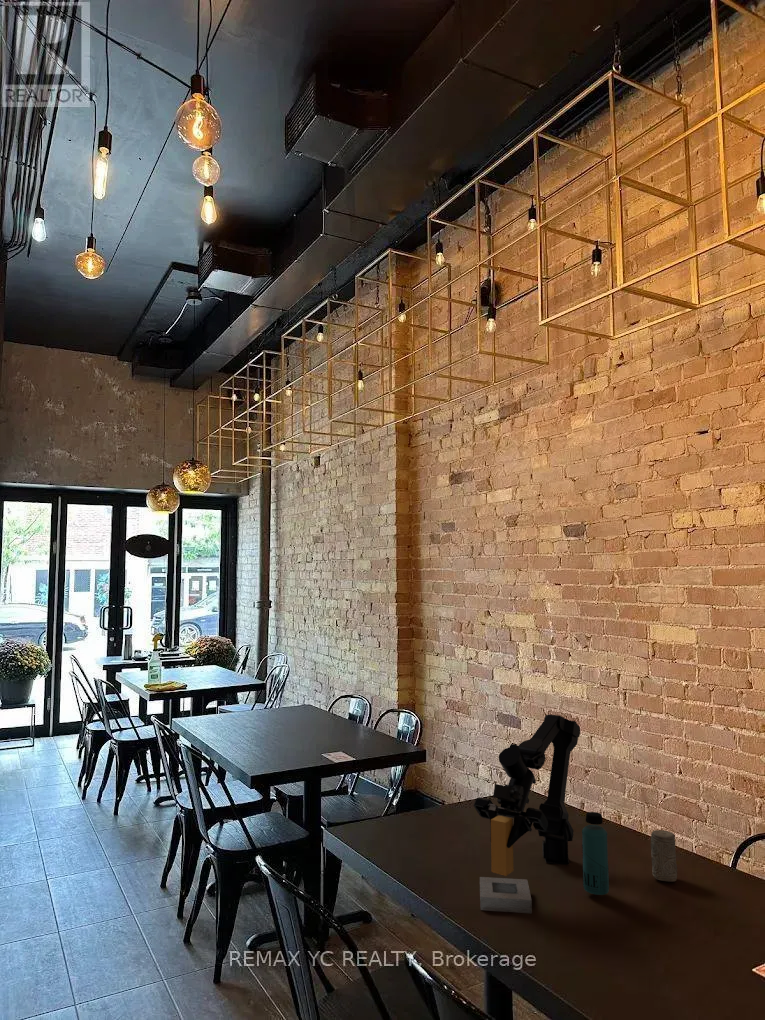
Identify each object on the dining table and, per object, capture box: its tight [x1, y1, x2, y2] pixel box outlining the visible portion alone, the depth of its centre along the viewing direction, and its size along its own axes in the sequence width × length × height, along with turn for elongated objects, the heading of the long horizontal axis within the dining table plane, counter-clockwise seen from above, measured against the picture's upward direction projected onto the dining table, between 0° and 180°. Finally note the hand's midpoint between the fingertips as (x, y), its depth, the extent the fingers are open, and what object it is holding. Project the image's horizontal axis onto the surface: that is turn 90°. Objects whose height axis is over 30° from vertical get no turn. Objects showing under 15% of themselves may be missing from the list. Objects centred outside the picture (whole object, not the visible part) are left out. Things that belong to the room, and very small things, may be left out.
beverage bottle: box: [581, 811, 610, 896], centre depth 176 cm, size 6×7×20 cm
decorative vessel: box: [650, 829, 678, 883], centre depth 186 cm, size 6×8×12 cm
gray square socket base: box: [479, 876, 533, 914], centre depth 172 cm, size 12×12×3 cm
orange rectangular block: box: [490, 815, 515, 877], centre depth 174 cm, size 4×4×12 cm
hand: (499, 845), depth 173 cm, fingers closed on orange rectangular block, 4 cm apart
